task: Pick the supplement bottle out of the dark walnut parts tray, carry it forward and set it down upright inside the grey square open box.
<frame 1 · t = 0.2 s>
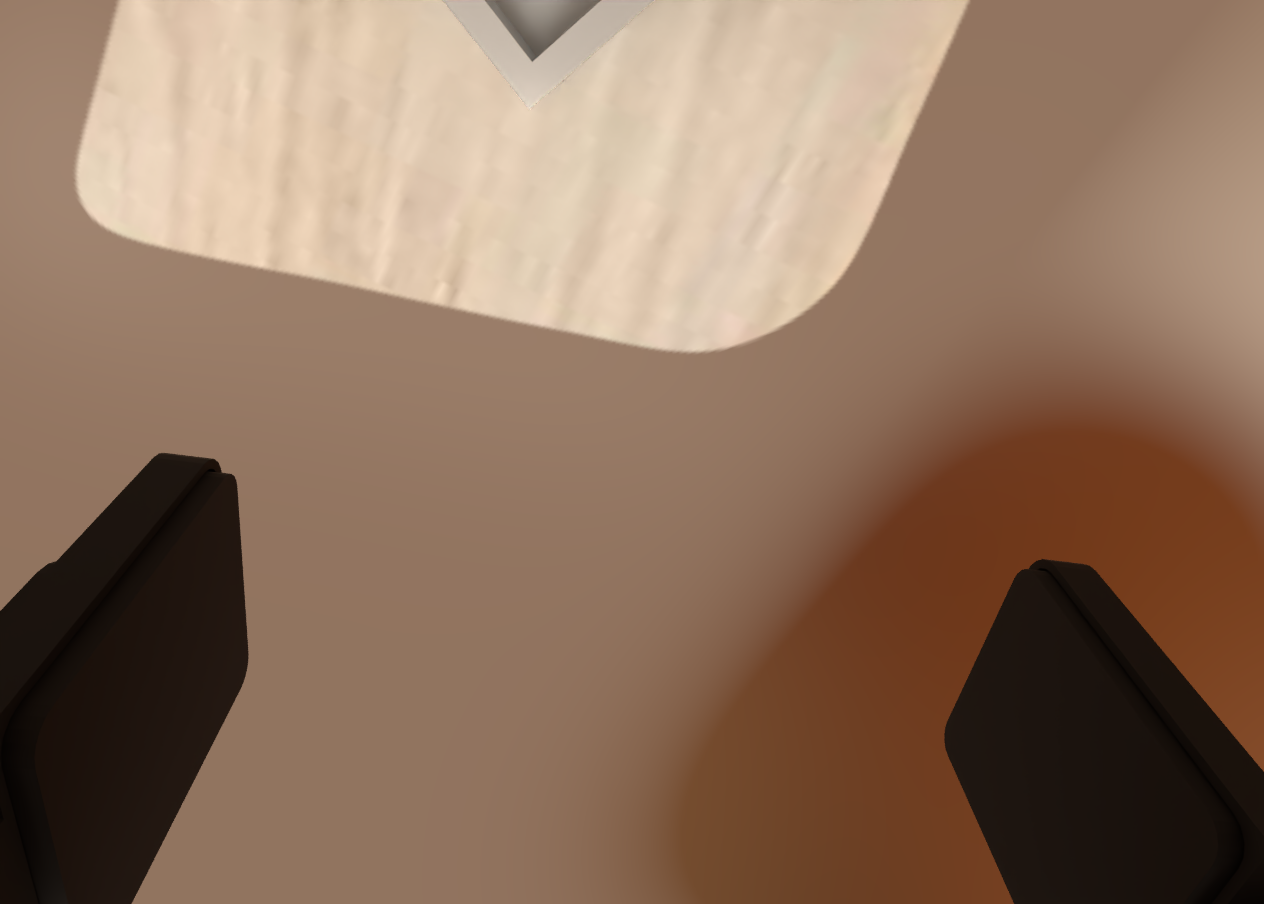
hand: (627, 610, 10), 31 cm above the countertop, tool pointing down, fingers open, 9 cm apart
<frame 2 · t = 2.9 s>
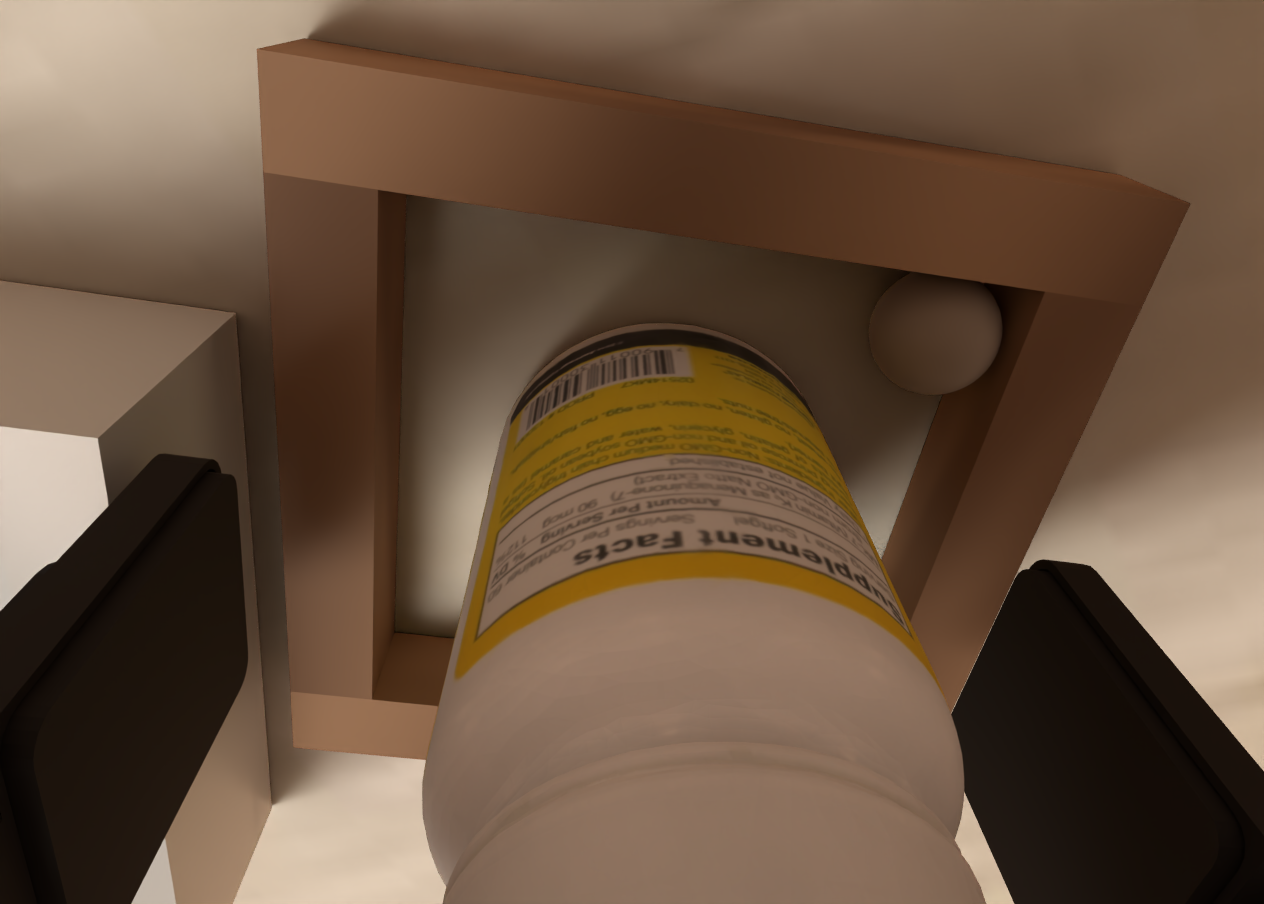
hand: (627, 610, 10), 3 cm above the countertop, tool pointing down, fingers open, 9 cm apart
supplement bottle: (658, 457, 13), resting in tray
tray: (659, 465, 13), on the countertop
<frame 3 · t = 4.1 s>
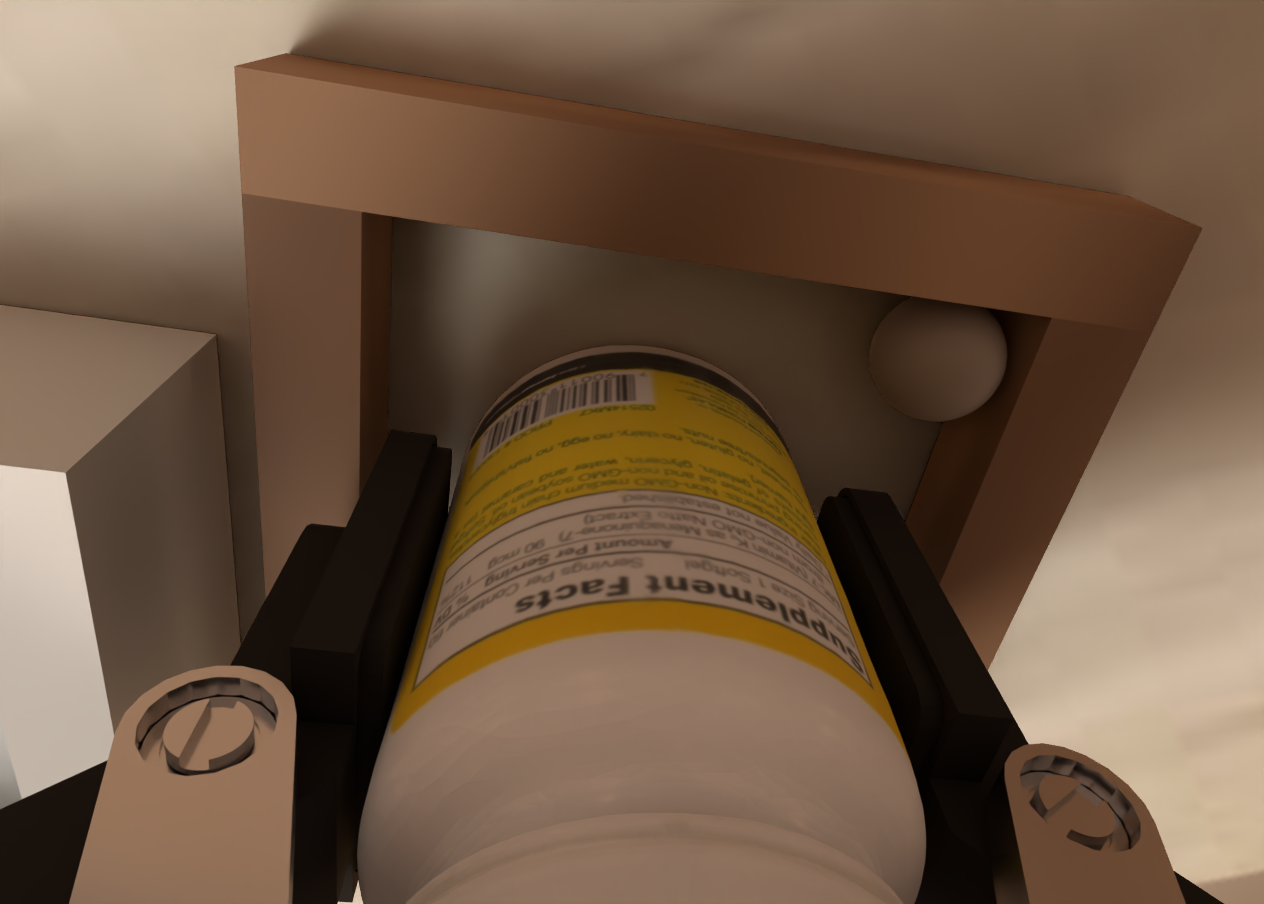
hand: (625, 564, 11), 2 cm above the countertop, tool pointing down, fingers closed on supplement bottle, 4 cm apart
supplement bottle: (627, 480, 13), resting in tray, touching gripper
tray: (653, 490, 12), on the countertop
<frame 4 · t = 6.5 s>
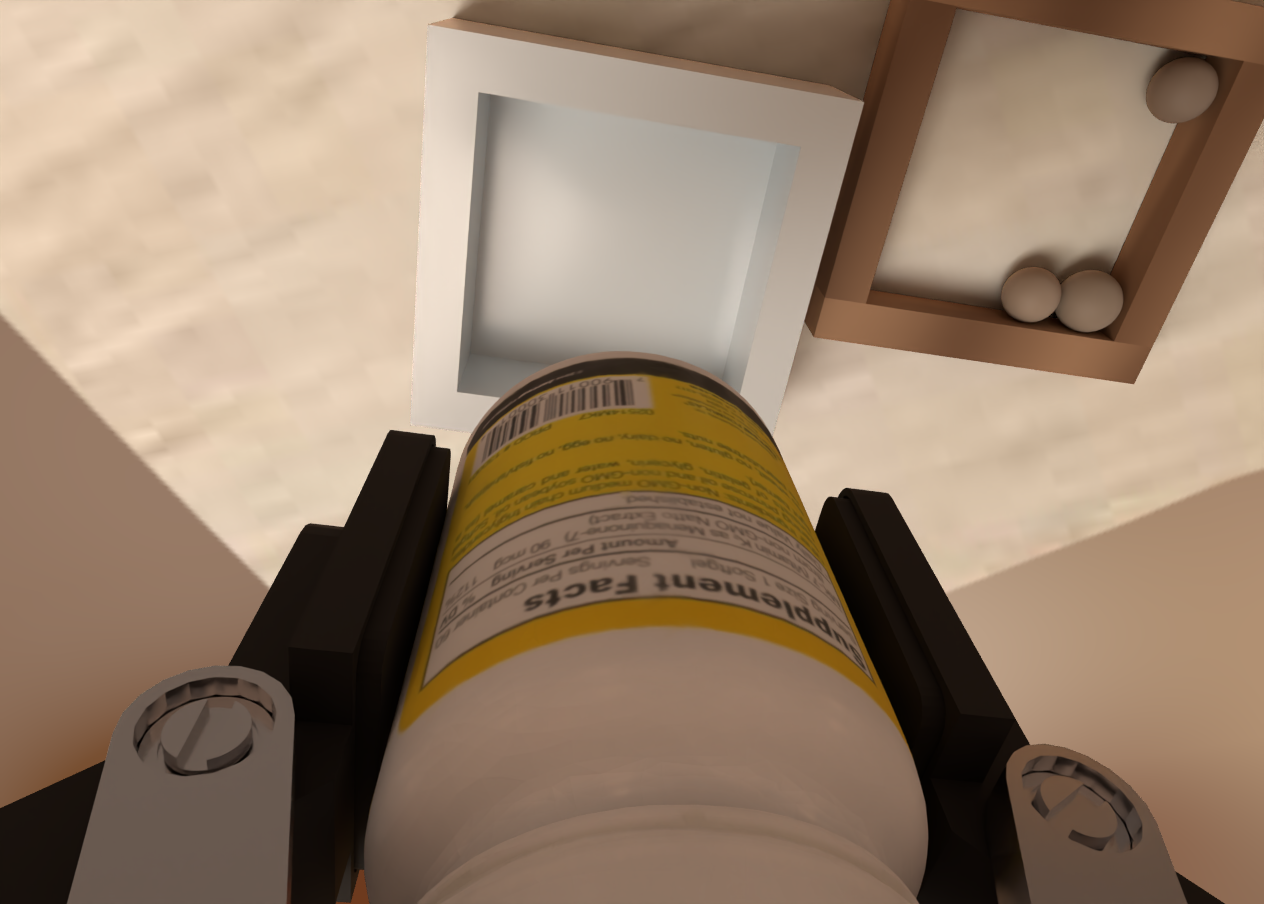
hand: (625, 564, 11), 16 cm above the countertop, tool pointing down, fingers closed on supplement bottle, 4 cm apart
grey square open box: (616, 240, 25), on the countertop
supplement bottle: (620, 486, 13), point 14 cm above the countertop, touching gripper
tray: (1019, 178, 24), on the countertop
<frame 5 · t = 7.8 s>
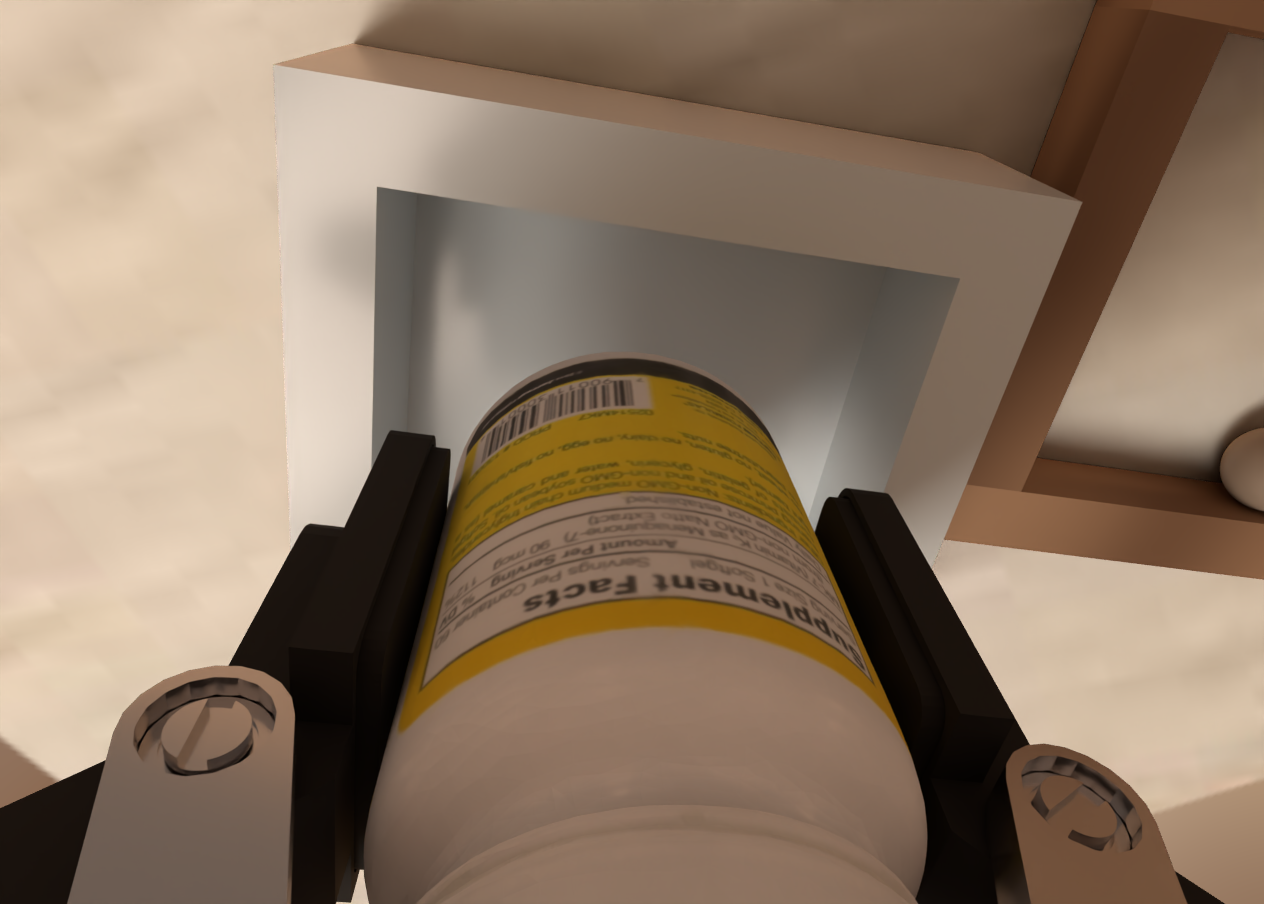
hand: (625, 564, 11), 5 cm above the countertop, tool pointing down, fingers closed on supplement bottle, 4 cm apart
grey square open box: (626, 386, 16), on the countertop
supplement bottle: (620, 487, 13), point 4 cm above the countertop, touching gripper
when the fingers open (4 cm above the countertop, at t = 8.9 s): supplement bottle drops 1 cm, resting on grey square open box.
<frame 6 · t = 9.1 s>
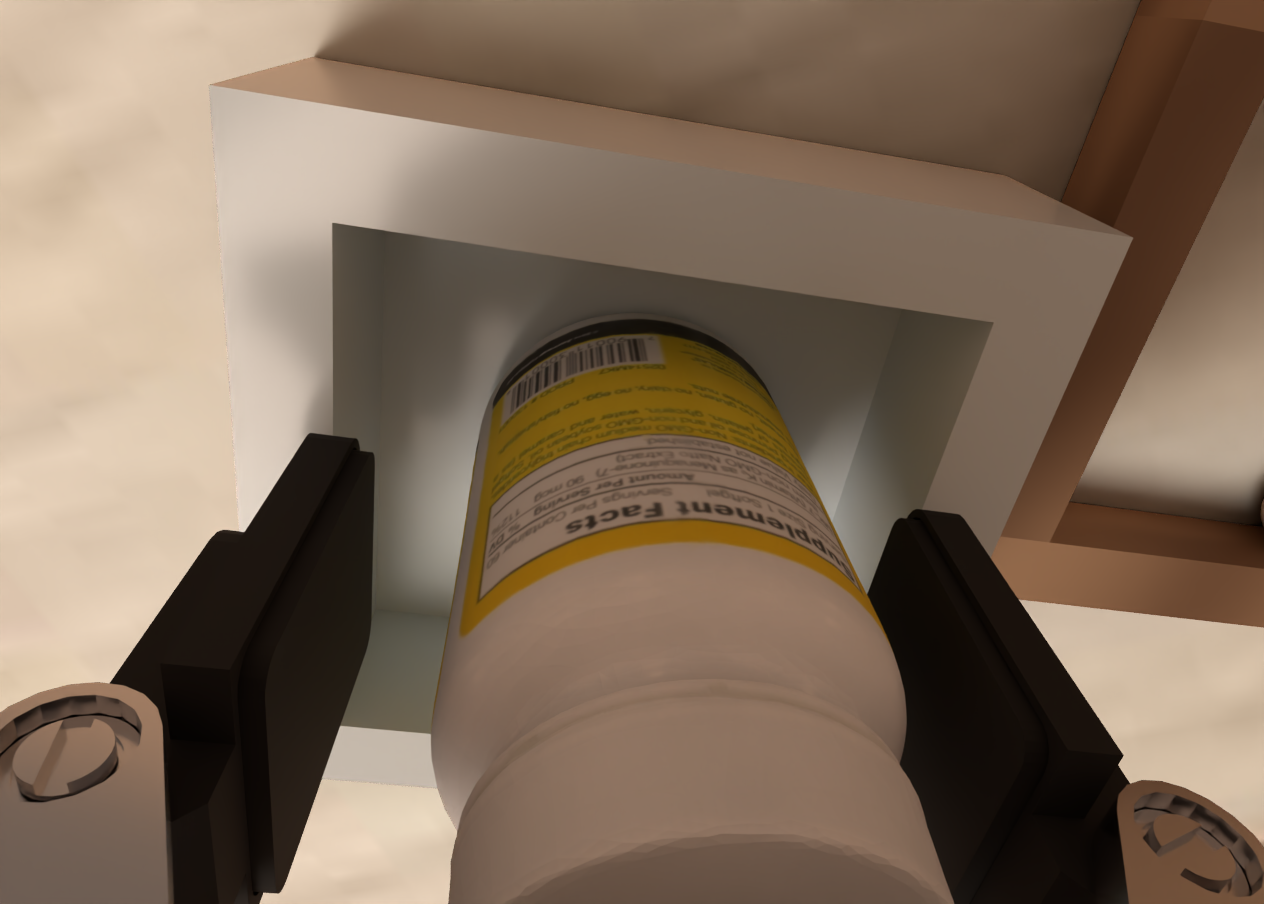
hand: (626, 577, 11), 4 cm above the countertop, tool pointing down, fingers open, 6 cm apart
grey square open box: (619, 428, 15), on the countertop
supplement bottle: (629, 438, 14), point 1 cm above the countertop, touching grey square open box
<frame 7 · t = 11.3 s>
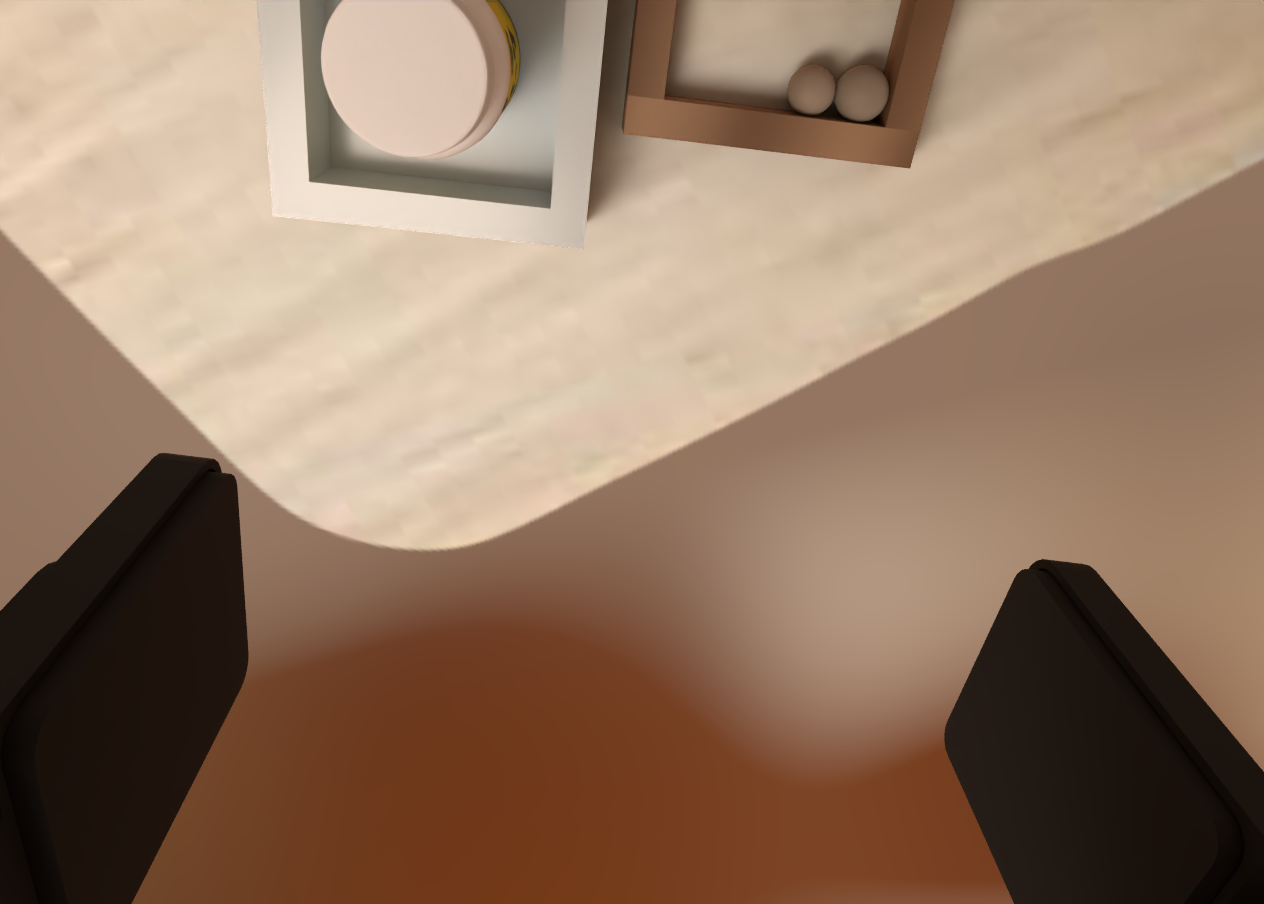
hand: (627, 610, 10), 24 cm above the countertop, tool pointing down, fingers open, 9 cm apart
grey square open box: (449, 58, 29), on the countertop
supplement bottle: (450, 53, 28), point 1 cm above the countertop, touching grey square open box
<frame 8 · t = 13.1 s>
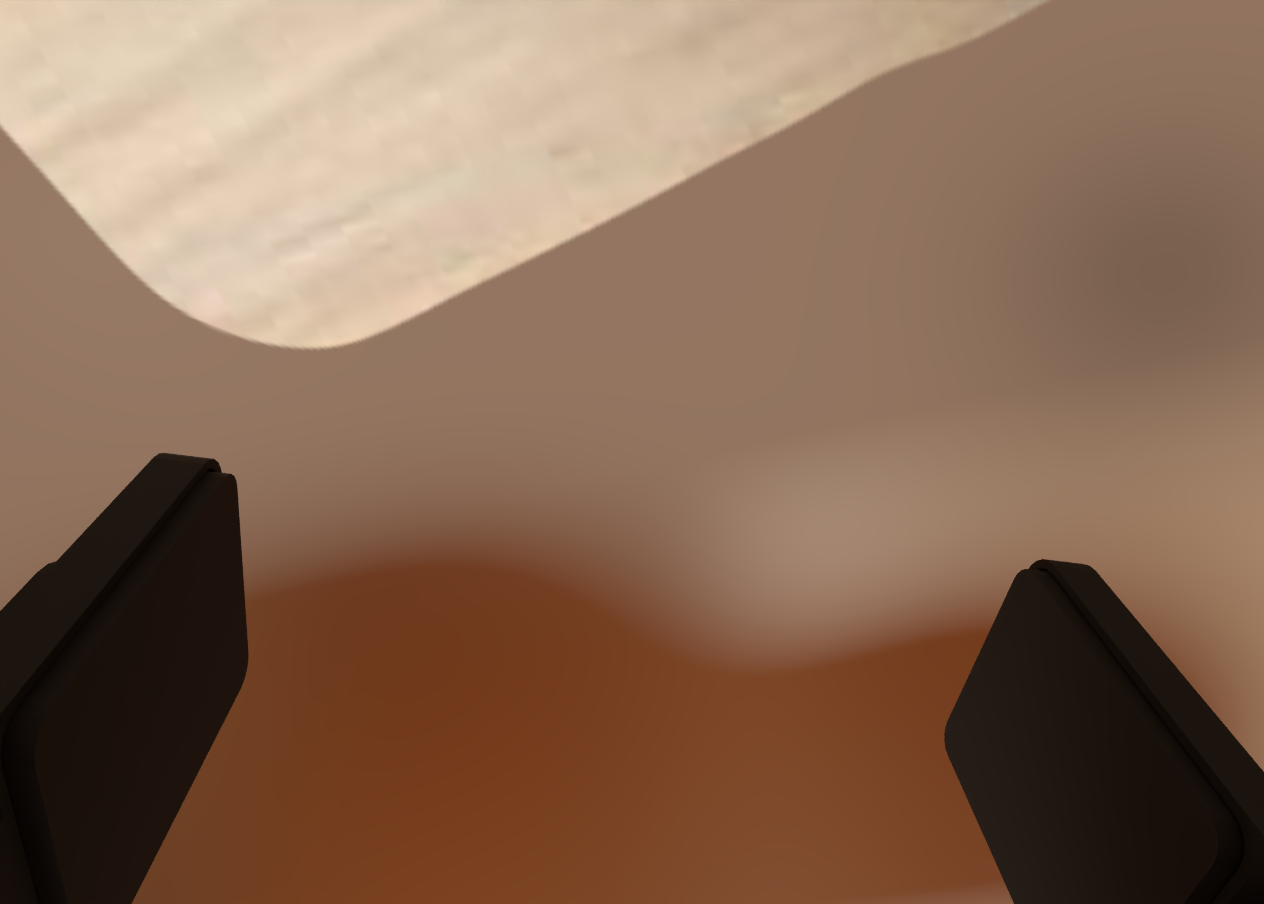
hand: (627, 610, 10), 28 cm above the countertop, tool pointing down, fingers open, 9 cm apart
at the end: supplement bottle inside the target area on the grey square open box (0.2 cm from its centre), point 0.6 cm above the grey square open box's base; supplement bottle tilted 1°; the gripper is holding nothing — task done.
